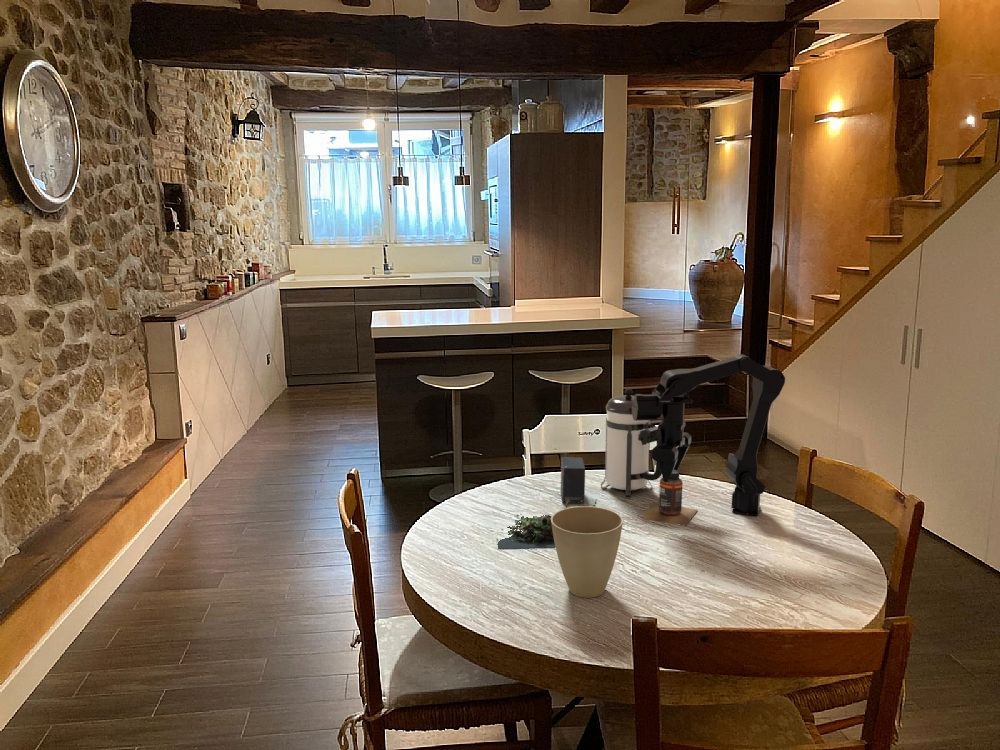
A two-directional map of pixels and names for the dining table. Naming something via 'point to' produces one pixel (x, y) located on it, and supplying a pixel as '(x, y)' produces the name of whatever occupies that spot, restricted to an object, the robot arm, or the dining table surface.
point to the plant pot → (586, 547)
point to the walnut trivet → (680, 518)
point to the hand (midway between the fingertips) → (670, 476)
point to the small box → (572, 480)
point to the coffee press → (626, 447)
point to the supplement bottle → (671, 495)
